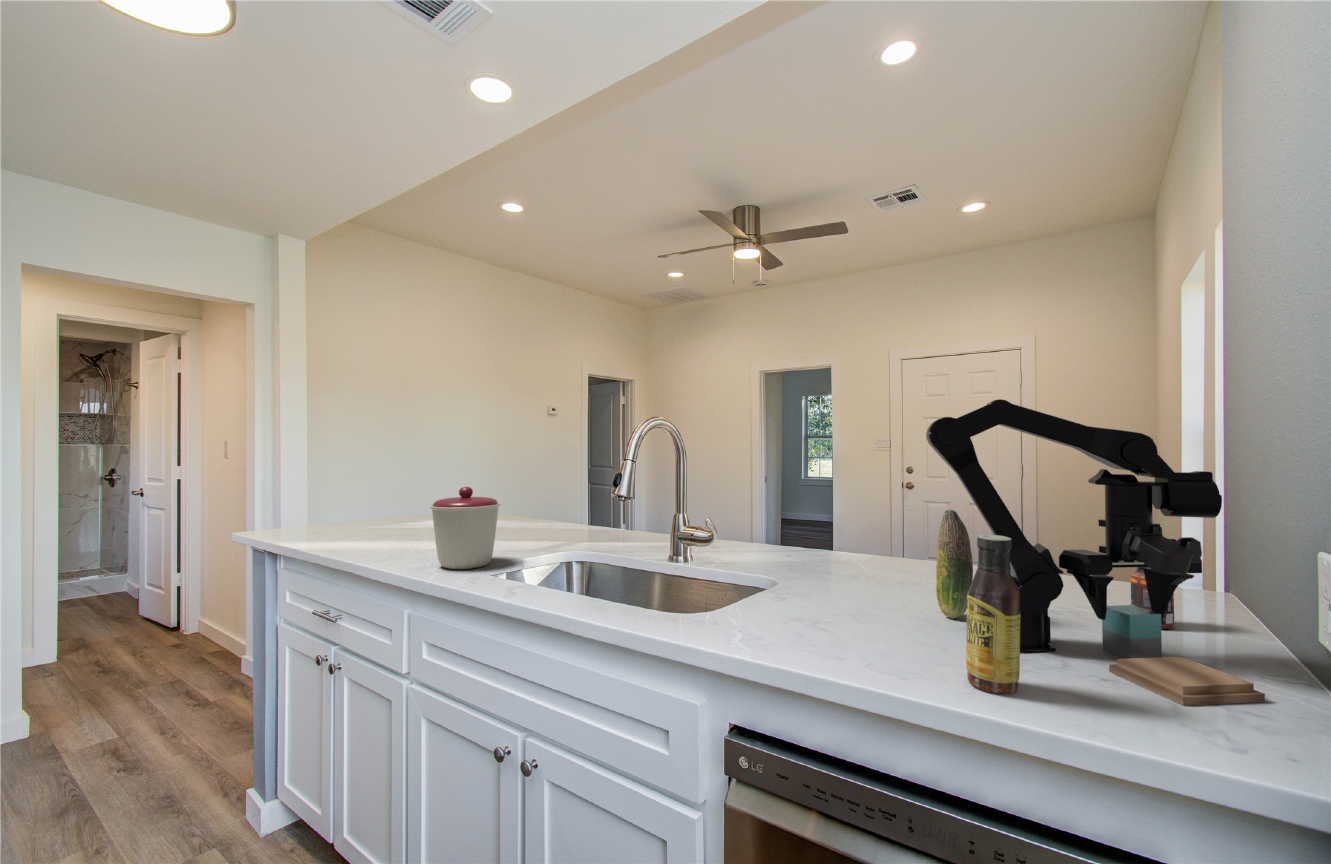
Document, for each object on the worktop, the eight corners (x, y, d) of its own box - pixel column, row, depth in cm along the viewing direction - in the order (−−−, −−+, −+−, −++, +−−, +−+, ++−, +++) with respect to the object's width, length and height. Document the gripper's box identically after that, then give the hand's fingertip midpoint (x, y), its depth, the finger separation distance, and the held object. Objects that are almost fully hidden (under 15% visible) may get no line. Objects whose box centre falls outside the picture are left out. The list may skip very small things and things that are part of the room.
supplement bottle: (1182, 631, 102) (1181, 564, 103) (1143, 629, 103) (1141, 563, 104) (1161, 621, 108) (1160, 558, 108) (1124, 619, 109) (1123, 557, 110)
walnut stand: (1183, 705, 73) (1183, 688, 73) (1109, 671, 84) (1108, 657, 84) (1265, 701, 74) (1264, 685, 74) (1181, 668, 85) (1180, 654, 85)
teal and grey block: (1130, 663, 88) (1129, 614, 88) (1102, 651, 93) (1101, 605, 93) (1162, 661, 88) (1161, 614, 88) (1132, 650, 93) (1131, 605, 93)
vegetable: (932, 611, 115) (931, 507, 115) (967, 613, 113) (966, 507, 114) (940, 620, 109) (939, 510, 109) (977, 622, 107) (976, 511, 108)
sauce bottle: (956, 678, 82) (954, 532, 82) (1000, 676, 83) (998, 532, 83) (986, 698, 75) (984, 540, 76) (1033, 696, 76) (1030, 539, 76)
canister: (450, 576, 147) (450, 490, 147) (416, 566, 159) (417, 487, 160) (513, 565, 160) (514, 486, 161) (478, 557, 172) (479, 483, 173)
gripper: (1115, 522, 82) (1117, 637, 82) (1239, 521, 84) (1241, 633, 83) (1055, 513, 93) (1056, 614, 93) (1166, 512, 95) (1167, 611, 94)
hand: (1129, 618), depth 91 cm, fingers open, 9 cm apart
